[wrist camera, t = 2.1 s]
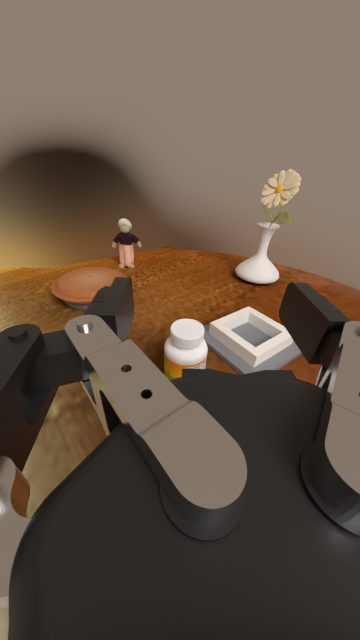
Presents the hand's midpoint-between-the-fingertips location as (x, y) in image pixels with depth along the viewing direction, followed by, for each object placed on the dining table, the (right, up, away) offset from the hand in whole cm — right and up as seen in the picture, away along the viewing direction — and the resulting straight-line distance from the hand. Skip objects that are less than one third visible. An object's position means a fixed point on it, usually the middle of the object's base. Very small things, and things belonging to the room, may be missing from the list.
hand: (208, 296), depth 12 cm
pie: (-20, +4, +39) cm, 44 cm away
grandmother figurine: (-16, +14, +54) cm, 58 cm away
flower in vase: (+19, +9, +50) cm, 55 cm away
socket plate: (+11, -5, +29) cm, 31 cm away
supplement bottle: (-1, -10, +21) cm, 23 cm away
